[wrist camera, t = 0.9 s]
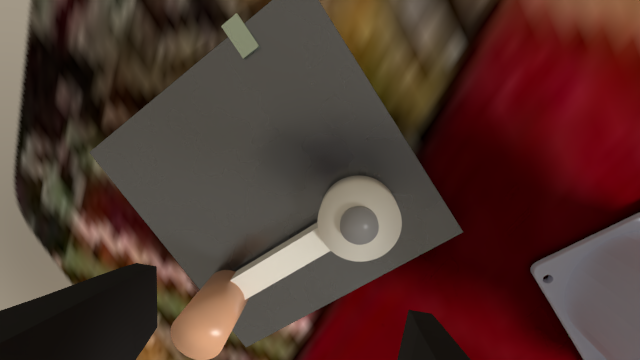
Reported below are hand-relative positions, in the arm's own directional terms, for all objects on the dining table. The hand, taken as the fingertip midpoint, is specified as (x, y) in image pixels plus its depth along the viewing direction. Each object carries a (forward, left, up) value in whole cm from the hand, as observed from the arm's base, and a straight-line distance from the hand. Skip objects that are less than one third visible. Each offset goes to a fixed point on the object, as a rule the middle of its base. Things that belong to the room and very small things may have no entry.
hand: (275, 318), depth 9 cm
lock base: (+3, +2, -10) cm, 10 cm away
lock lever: (-1, +2, -8) cm, 8 cm away
